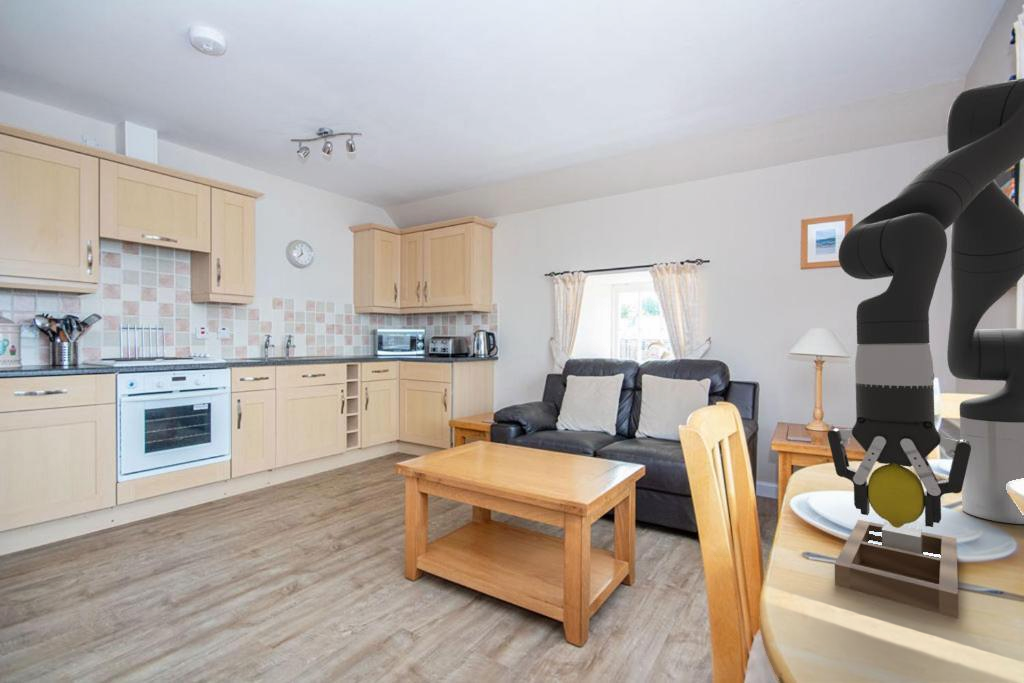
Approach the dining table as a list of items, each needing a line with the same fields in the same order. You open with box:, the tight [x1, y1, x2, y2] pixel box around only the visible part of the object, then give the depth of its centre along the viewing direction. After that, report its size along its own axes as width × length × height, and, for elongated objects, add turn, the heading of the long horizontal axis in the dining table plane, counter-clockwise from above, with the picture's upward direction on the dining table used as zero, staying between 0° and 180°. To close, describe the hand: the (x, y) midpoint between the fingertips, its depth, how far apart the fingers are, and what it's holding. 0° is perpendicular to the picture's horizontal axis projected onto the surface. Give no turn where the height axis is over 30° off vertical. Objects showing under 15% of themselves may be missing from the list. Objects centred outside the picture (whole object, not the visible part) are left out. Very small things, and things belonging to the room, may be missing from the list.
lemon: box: [867, 463, 925, 528], centre depth 59 cm, size 6×6×8 cm
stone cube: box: [882, 521, 923, 554], centre depth 65 cm, size 4×4×4 cm
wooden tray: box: [834, 519, 959, 619], centre depth 62 cm, size 20×11×4 cm, turn 137°
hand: (896, 518), depth 59 cm, fingers closed on lemon, 5 cm apart
